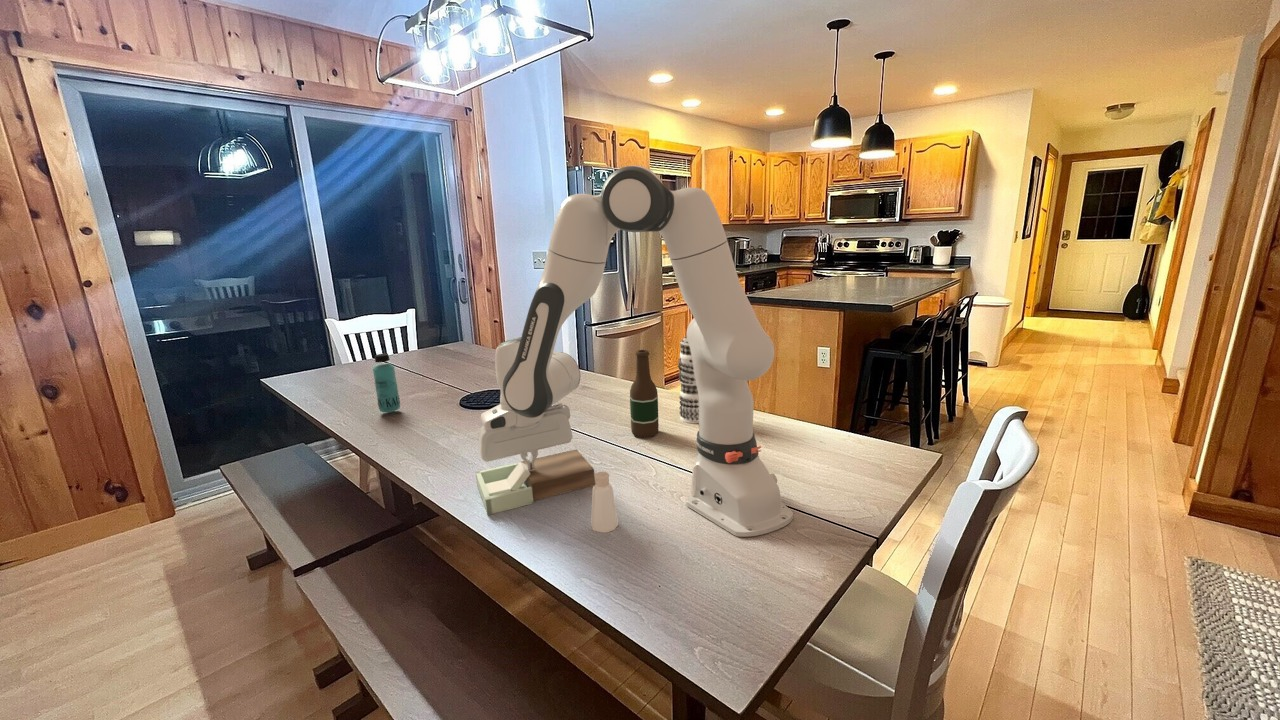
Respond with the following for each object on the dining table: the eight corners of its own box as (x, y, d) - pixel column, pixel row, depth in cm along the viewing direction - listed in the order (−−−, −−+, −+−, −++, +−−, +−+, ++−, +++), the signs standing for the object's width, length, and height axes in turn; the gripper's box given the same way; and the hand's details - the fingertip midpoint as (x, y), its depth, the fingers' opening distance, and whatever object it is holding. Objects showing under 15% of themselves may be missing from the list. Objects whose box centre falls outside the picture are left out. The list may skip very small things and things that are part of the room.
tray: (533, 503, 108) (532, 488, 107) (487, 515, 104) (485, 499, 103) (518, 476, 120) (517, 462, 119) (477, 485, 116) (475, 471, 115)
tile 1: (487, 494, 108) (488, 500, 109) (510, 488, 110) (511, 495, 110) (483, 484, 113) (484, 490, 113) (506, 479, 115) (507, 485, 115)
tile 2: (530, 473, 111) (524, 470, 110) (516, 492, 111) (510, 489, 110) (525, 464, 116) (520, 461, 115) (511, 482, 115) (506, 479, 114)
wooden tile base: (594, 485, 115) (593, 469, 114) (534, 500, 109) (532, 483, 108) (577, 464, 125) (576, 449, 124) (521, 477, 119) (519, 461, 118)
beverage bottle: (381, 411, 168) (371, 353, 163) (403, 408, 170) (393, 351, 165) (378, 418, 162) (367, 357, 157) (400, 415, 164) (390, 355, 159)
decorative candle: (714, 415, 154) (714, 335, 148) (701, 425, 146) (701, 341, 140) (686, 411, 159) (686, 333, 152) (673, 420, 151) (672, 339, 145)
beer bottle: (659, 428, 146) (657, 347, 140) (657, 439, 138) (655, 354, 132) (632, 428, 147) (629, 347, 141) (629, 438, 139) (626, 354, 133)
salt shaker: (585, 525, 99) (581, 474, 96) (606, 514, 103) (603, 465, 100) (603, 536, 95) (600, 484, 93) (624, 524, 99) (621, 473, 96)
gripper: (564, 397, 117) (571, 452, 120) (473, 416, 109) (482, 474, 113) (572, 405, 111) (579, 462, 115) (476, 425, 104) (486, 486, 107)
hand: (530, 468), depth 114 cm, fingers closed, pressing on tile 2
